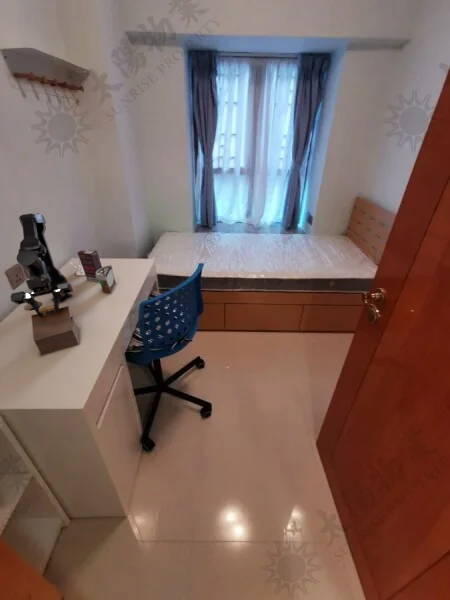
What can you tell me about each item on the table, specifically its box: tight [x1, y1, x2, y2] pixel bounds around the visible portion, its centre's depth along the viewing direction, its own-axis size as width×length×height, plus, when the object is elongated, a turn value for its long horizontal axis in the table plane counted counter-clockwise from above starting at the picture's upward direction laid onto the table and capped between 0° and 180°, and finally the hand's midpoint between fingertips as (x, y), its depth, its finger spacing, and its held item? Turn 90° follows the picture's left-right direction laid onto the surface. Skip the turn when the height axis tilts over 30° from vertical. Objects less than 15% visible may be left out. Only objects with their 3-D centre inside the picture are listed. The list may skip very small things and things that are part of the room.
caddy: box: [34, 315, 80, 356], centre depth 105 cm, size 10×12×6 cm
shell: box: [69, 255, 86, 276], centre depth 153 cm, size 9×12×9 cm
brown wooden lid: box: [31, 304, 73, 343], centre depth 101 cm, size 11×12×5 cm
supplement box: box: [76, 248, 103, 283], centre depth 144 cm, size 9×5×16 cm, turn 71°
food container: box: [96, 264, 117, 294], centre depth 136 cm, size 12×6×10 cm, turn 5°
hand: (48, 314), depth 101 cm, fingers closed on brown wooden lid, 5 cm apart
